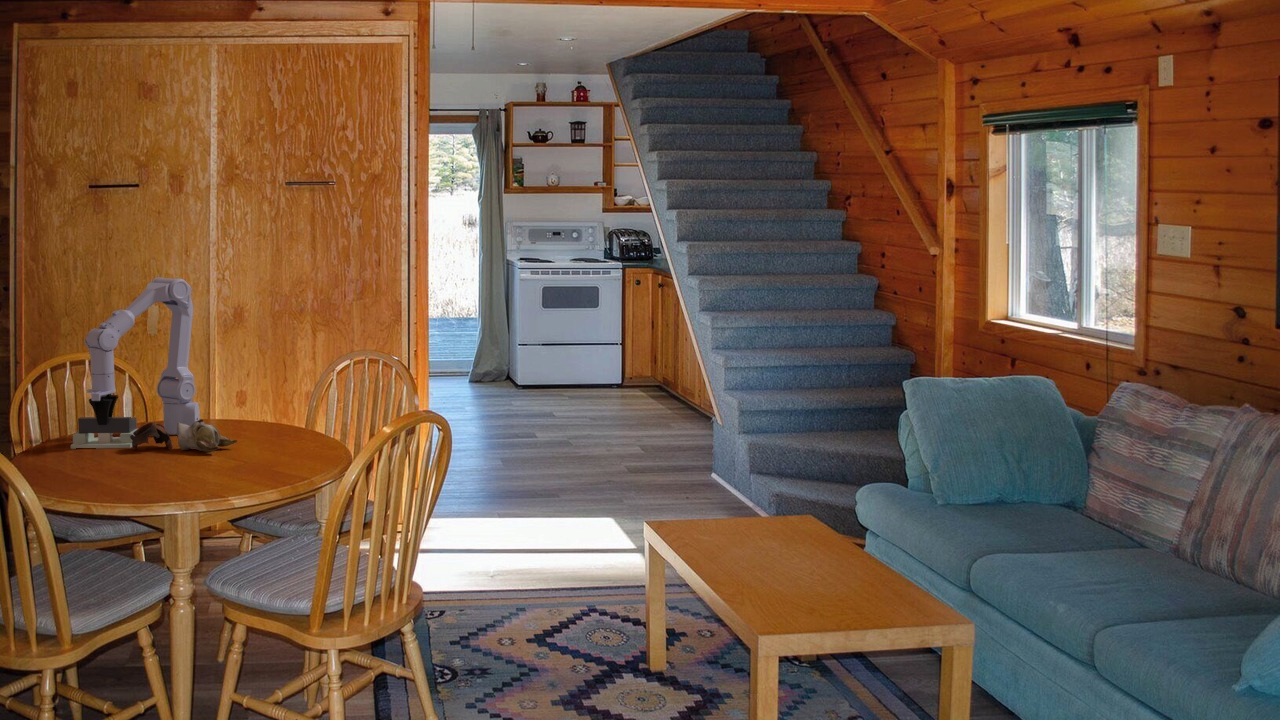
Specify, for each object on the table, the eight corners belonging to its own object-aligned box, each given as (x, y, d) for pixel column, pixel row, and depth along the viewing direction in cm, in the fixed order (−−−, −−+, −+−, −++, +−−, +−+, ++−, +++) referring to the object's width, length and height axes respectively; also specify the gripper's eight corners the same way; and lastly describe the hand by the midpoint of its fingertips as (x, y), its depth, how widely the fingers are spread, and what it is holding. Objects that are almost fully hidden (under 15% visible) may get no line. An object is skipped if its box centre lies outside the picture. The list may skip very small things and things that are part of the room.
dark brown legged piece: (171, 454, 323) (153, 428, 320) (139, 469, 323) (121, 444, 320) (181, 434, 334) (164, 410, 331) (151, 449, 334) (133, 424, 331)
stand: (141, 440, 338) (140, 427, 338) (130, 448, 327) (129, 435, 327) (83, 441, 336) (83, 428, 336) (70, 448, 325) (70, 435, 325)
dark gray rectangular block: (136, 428, 337) (136, 413, 337) (129, 432, 330) (129, 418, 330) (86, 428, 335) (86, 414, 335) (78, 433, 328) (78, 418, 328)
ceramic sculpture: (189, 413, 331) (239, 419, 328) (188, 444, 332) (238, 451, 329) (165, 420, 321) (217, 426, 318) (165, 452, 322) (216, 459, 319)
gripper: (95, 369, 335) (97, 419, 337) (78, 377, 321) (80, 428, 322) (122, 369, 336) (124, 418, 338) (106, 376, 322) (108, 428, 323)
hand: (104, 423), depth 330 cm, fingers open, 3 cm apart
